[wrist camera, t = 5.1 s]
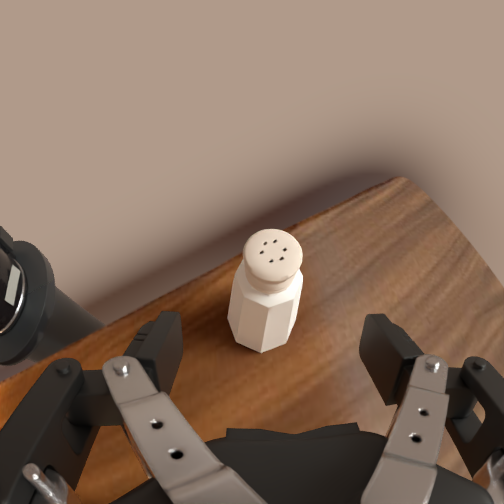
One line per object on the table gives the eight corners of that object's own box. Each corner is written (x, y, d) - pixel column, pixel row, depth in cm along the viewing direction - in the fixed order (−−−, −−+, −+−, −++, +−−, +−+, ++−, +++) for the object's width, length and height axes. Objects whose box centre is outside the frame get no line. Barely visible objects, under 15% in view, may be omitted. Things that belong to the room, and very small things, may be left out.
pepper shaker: (213, 317, 23) (190, 247, 14) (262, 277, 25) (272, 188, 16) (260, 367, 21) (272, 332, 12) (308, 321, 23) (352, 254, 14)
